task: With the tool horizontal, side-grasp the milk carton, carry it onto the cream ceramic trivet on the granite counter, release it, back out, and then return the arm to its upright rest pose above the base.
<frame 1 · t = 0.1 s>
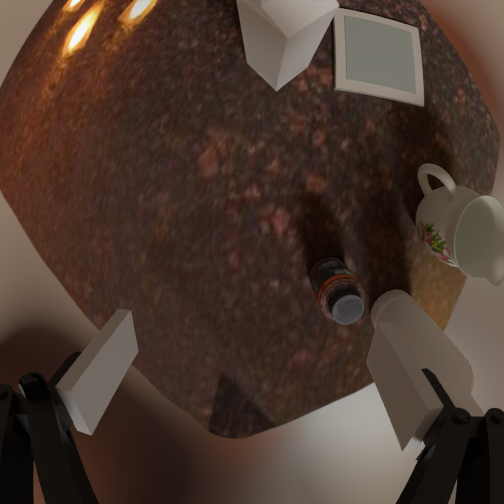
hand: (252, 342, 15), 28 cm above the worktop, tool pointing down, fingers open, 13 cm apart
milk: (277, 65, 35), on the worktop
supplement bottle: (328, 274, 43), on the worktop
trivet: (379, 55, 33), on the worktop
pitcher: (429, 210, 40), on the worktop
bottle: (390, 309, 45), on the worktop
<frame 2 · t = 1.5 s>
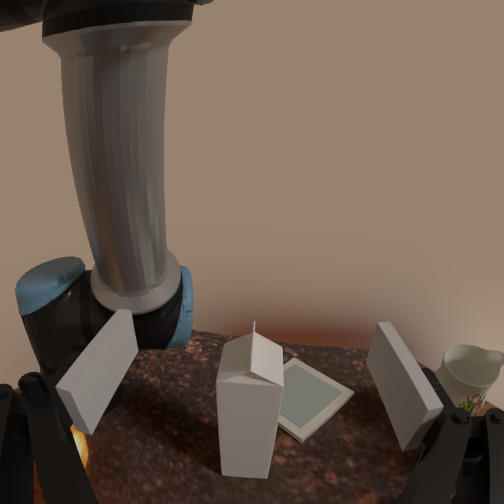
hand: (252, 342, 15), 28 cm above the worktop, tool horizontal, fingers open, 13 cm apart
milk: (245, 461, 33), on the worktop
trivet: (297, 397, 45), on the worktop
pitcher: (433, 424, 36), on the worktop
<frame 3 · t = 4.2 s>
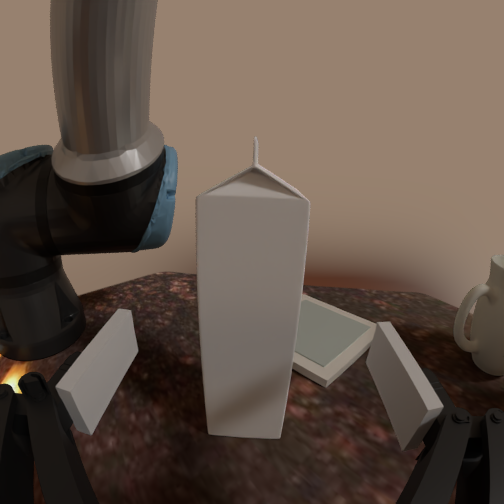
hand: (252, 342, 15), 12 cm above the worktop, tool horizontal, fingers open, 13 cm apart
milk: (245, 414, 24), on the worktop
trivet: (312, 334, 36), on the worktop
pitcher: (486, 363, 27), on the worktop
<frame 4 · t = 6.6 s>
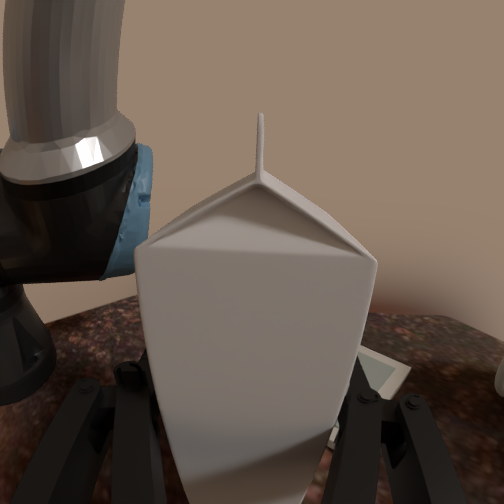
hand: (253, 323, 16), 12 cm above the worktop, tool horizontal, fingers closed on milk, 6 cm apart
milk: (244, 496, 15), on the worktop, touching gripper
trivet: (326, 380, 28), on the worktop
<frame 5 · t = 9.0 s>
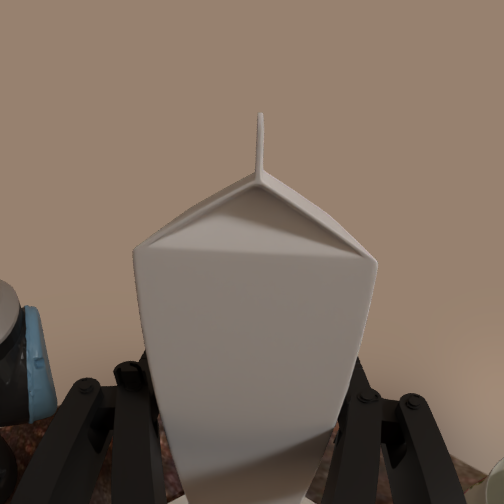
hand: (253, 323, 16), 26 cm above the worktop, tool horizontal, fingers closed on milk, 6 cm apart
milk: (244, 496, 15), point 14 cm above the worktop, touching gripper
when the fingers open (14 cm above the worktop, at t = 11.7 s): milk drops 1 cm, resting on trivet.
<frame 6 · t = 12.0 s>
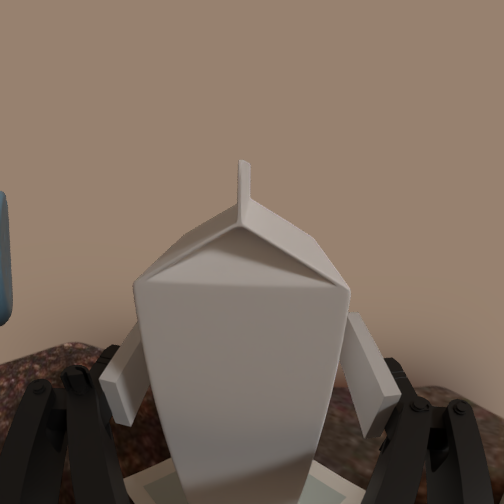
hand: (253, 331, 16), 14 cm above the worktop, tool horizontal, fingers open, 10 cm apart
milk: (244, 502, 16), point 1 cm above the worktop, touching trivet
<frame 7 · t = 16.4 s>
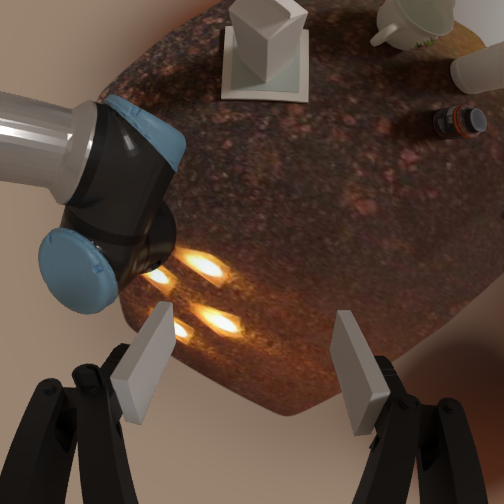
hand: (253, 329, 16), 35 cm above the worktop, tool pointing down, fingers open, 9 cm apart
milk: (266, 61, 41), point 1 cm above the worktop, touching trivet
supplement bottle: (443, 124, 43), on the worktop
trivet: (265, 62, 42), on the worktop
pitcher: (391, 35, 38), on the worktop
bottle: (463, 76, 39), on the worktop
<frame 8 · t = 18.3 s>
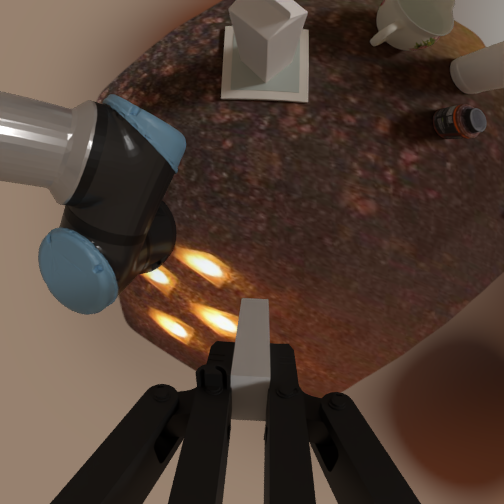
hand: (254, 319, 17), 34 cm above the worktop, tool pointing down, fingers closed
milk: (266, 61, 41), point 1 cm above the worktop, touching trivet
supplement bottle: (442, 123, 43), on the worktop
trivet: (265, 62, 42), on the worktop
pitcher: (391, 35, 38), on the worktop
bottle: (462, 76, 39), on the worktop
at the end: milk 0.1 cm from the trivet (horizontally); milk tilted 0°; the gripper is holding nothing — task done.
